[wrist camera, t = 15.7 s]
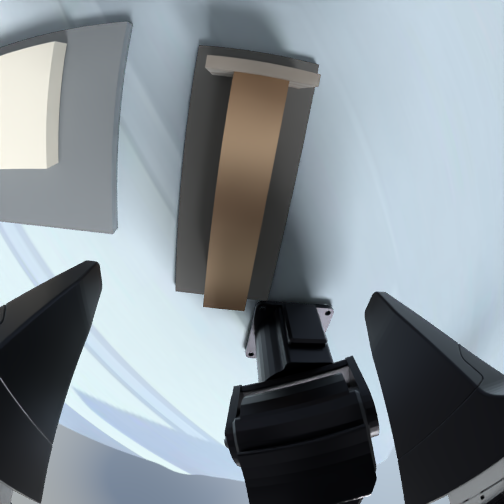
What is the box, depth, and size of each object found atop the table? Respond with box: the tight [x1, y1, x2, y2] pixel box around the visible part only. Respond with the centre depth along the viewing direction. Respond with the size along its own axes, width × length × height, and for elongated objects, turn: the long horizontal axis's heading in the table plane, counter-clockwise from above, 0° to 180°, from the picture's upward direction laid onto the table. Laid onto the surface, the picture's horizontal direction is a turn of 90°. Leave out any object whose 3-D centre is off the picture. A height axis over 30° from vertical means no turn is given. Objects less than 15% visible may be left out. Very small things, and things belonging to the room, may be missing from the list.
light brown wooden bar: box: [203, 55, 321, 311], centre depth 16 cm, size 14×5×4 cm, turn 170°
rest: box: [176, 45, 319, 301], centre depth 18 cm, size 17×7×1 cm, turn 170°
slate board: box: [0, 21, 133, 234], centre depth 15 cm, size 14×16×1 cm
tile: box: [0, 41, 67, 169], centre depth 13 cm, size 2×8×8 cm
